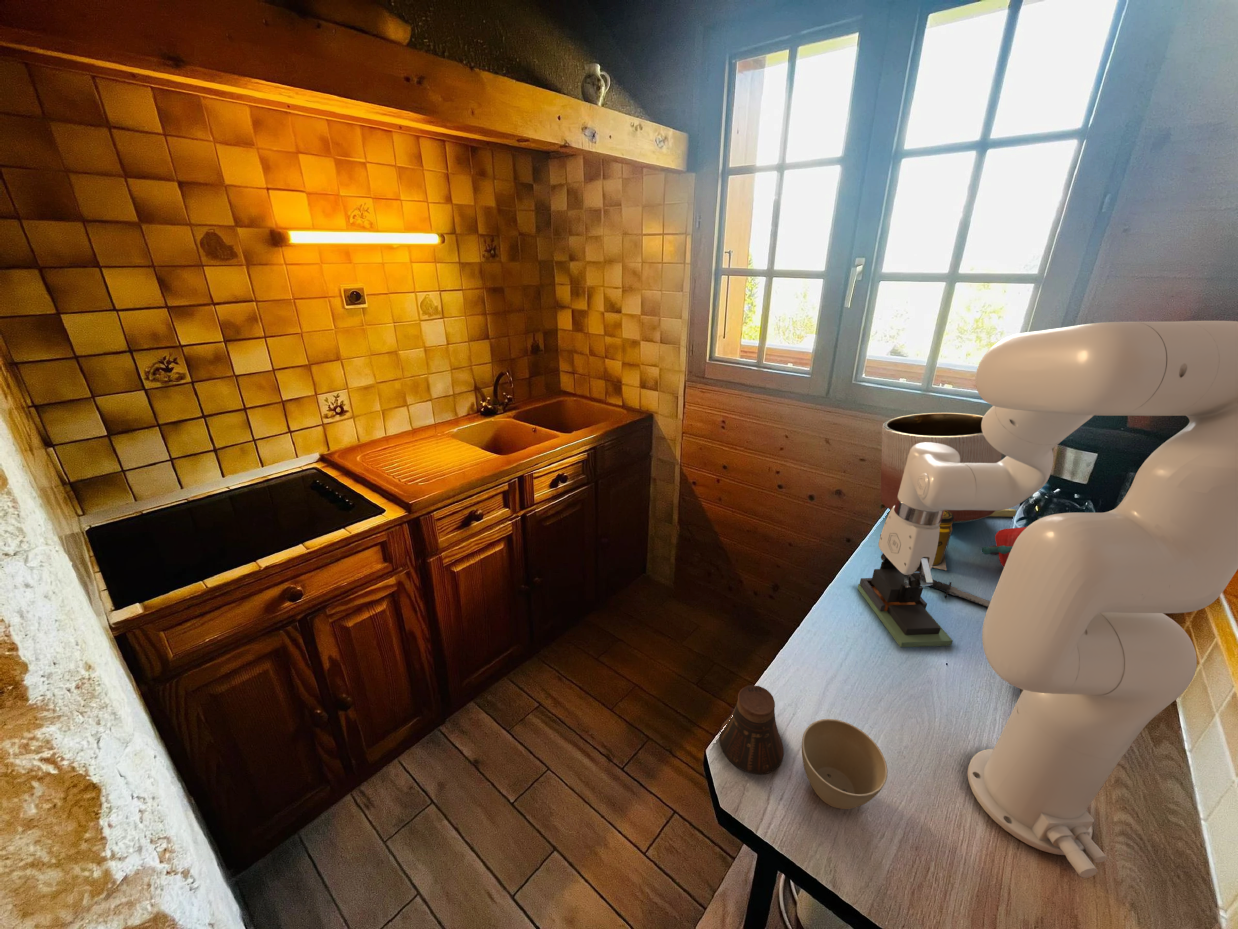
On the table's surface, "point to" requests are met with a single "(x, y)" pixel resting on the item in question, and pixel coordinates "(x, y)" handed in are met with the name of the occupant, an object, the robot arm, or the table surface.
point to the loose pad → (890, 584)
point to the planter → (934, 428)
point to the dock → (908, 639)
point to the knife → (956, 592)
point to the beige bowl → (842, 763)
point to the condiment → (943, 540)
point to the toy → (1003, 543)
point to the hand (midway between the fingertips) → (895, 588)
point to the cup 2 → (753, 732)
